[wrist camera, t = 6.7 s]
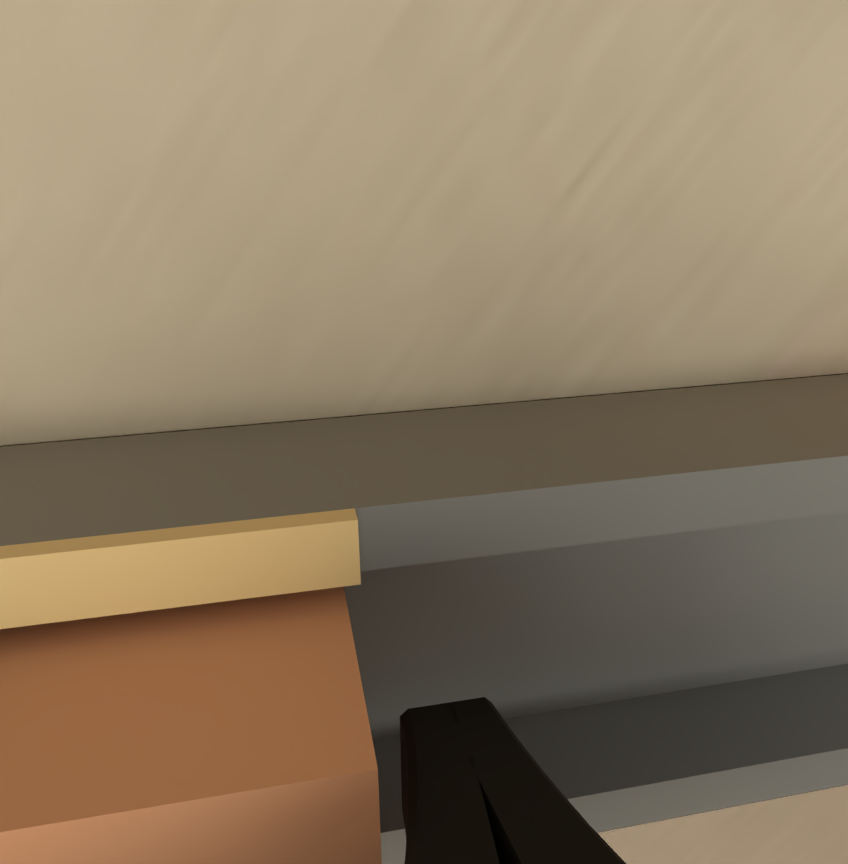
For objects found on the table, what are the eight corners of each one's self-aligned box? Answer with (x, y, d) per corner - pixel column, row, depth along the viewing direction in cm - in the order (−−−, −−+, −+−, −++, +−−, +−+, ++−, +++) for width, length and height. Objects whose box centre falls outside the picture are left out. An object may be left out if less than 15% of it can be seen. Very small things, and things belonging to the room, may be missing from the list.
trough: (1021, 358, 15) (1334, 476, 11) (925, 649, 18) (1140, 834, 14) (-100, 454, 12) (-307, 686, 7) (9, 796, 15) (-93, 1106, 10)
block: (331, 521, 13) (377, 768, 8) (345, 736, 15) (388, 1031, 10) (22, 554, 12) (-114, 850, 7) (81, 777, 14) (0, 1120, 9)
